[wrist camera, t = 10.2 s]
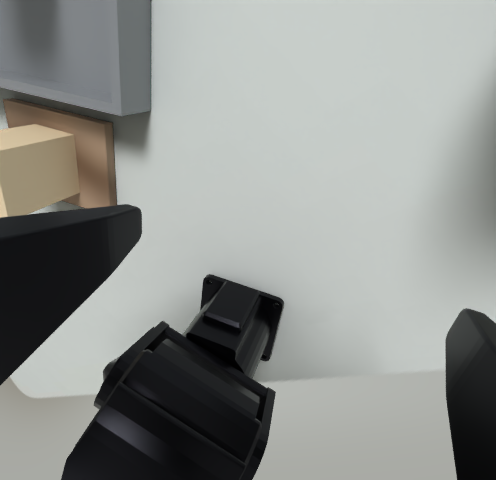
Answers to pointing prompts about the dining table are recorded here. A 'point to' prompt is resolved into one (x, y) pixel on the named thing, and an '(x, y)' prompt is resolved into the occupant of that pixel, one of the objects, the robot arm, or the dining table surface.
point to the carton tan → (35, 168)
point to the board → (76, 148)
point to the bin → (79, 52)
